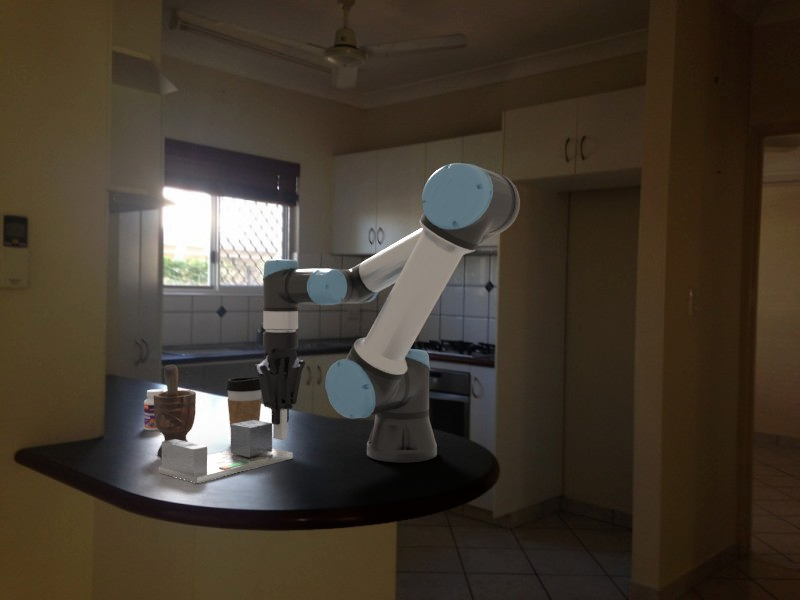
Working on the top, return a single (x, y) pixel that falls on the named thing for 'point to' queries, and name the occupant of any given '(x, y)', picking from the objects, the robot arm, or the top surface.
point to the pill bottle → (150, 410)
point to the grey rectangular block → (251, 438)
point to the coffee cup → (244, 399)
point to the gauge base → (210, 461)
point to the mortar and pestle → (174, 408)
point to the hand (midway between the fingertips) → (280, 438)
